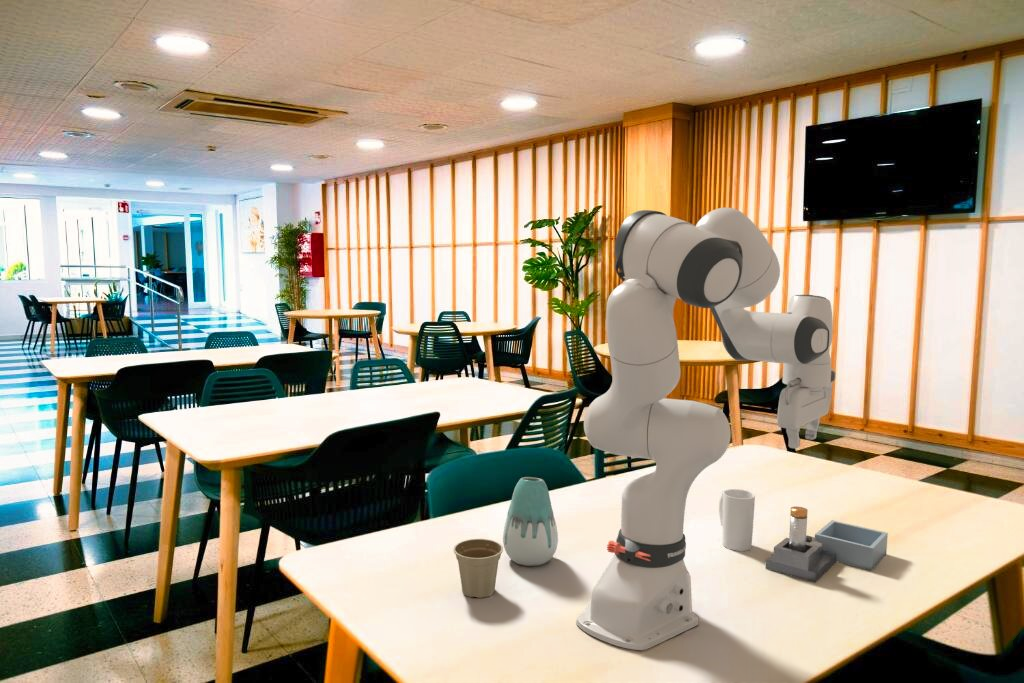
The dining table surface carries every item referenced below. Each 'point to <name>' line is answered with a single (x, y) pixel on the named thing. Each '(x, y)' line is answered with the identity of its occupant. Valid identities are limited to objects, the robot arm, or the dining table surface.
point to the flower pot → (478, 566)
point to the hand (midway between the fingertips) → (802, 443)
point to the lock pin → (798, 529)
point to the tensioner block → (801, 560)
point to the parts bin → (853, 544)
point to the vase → (530, 524)
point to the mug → (737, 518)
